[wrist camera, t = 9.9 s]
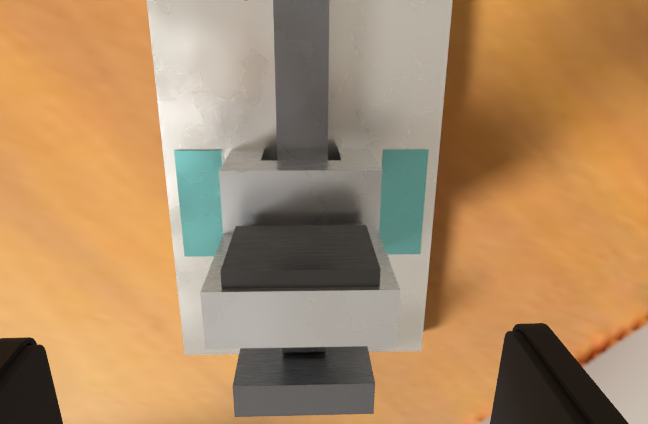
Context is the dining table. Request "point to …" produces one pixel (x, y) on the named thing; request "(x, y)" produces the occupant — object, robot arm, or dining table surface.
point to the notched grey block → (300, 255)
